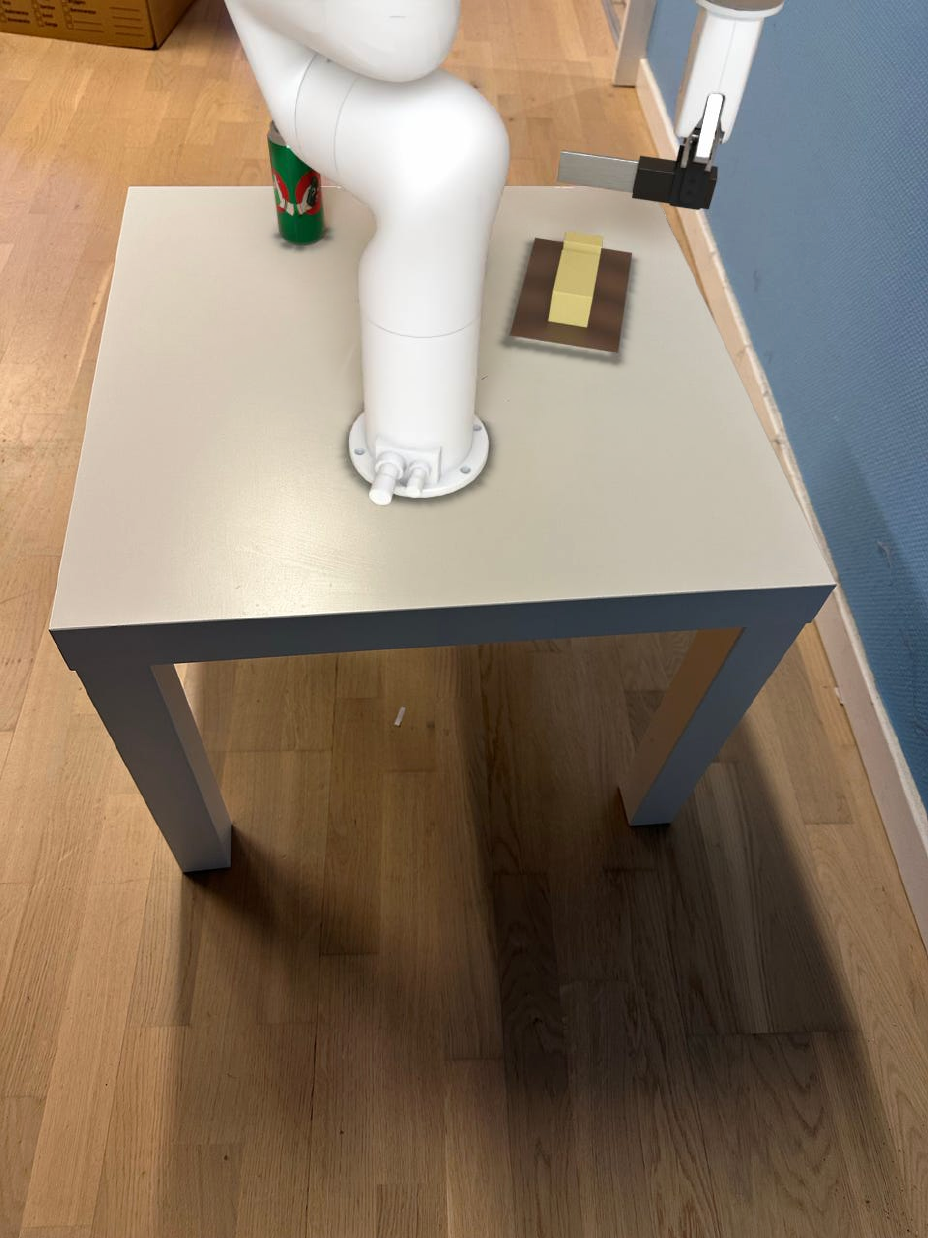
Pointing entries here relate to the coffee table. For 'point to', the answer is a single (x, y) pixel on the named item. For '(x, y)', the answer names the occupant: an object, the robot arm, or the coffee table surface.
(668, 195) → the knife
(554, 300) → the butter block
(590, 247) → the butter pat
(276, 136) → the soda can
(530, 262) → the board
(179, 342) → the coffee table surface
